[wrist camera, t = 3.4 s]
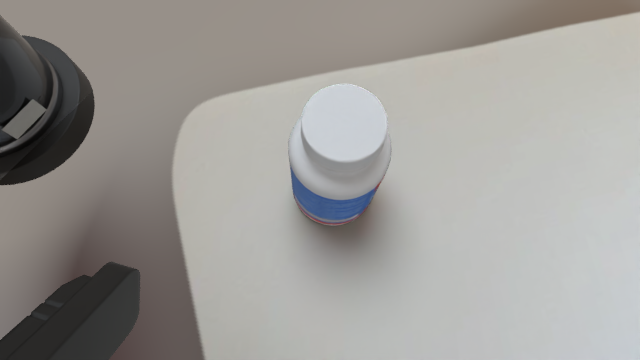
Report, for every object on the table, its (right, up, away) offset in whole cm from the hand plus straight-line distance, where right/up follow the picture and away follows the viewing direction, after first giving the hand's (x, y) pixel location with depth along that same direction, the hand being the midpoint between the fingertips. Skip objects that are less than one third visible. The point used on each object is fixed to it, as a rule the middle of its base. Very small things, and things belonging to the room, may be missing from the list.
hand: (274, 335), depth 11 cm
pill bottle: (+2, +4, +17) cm, 17 cm away
